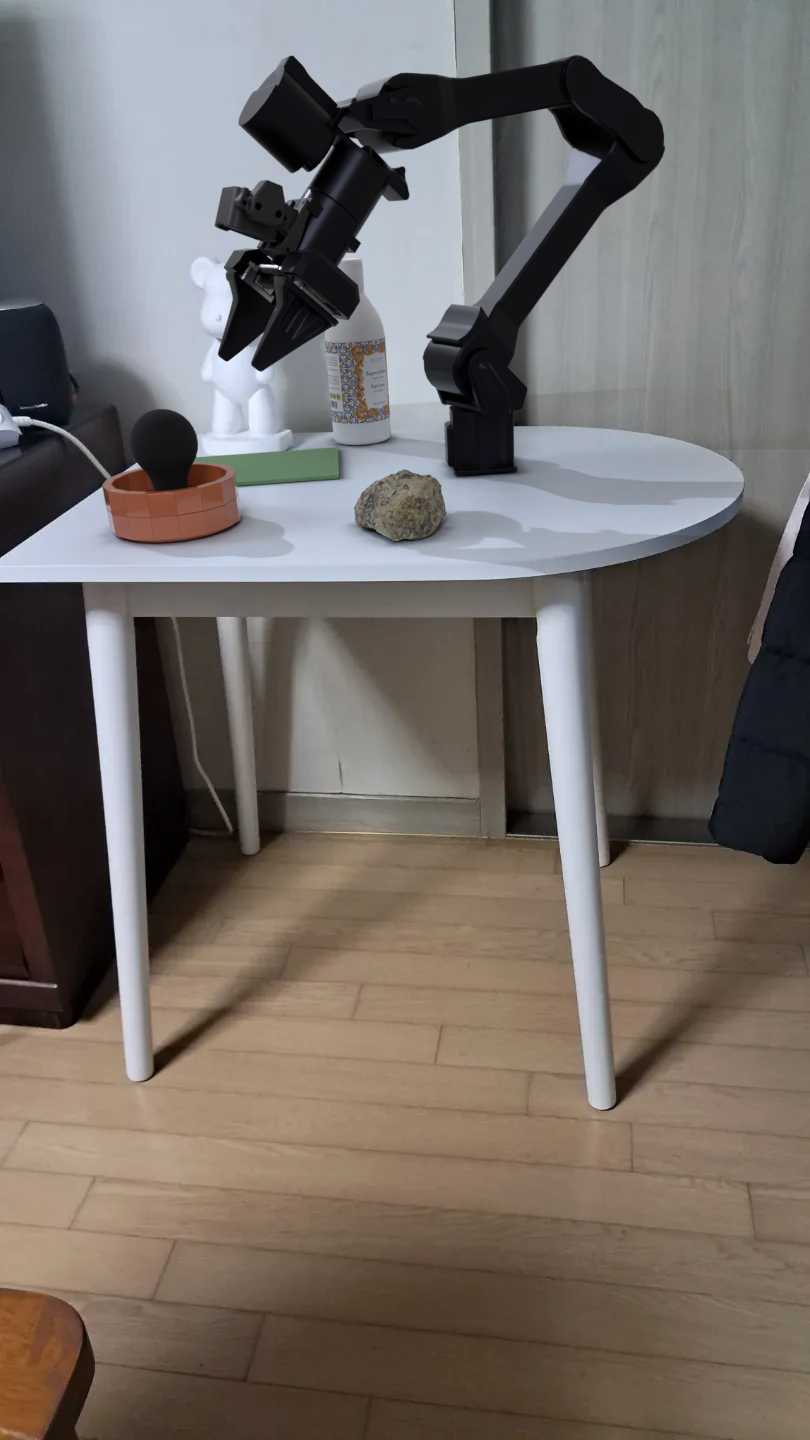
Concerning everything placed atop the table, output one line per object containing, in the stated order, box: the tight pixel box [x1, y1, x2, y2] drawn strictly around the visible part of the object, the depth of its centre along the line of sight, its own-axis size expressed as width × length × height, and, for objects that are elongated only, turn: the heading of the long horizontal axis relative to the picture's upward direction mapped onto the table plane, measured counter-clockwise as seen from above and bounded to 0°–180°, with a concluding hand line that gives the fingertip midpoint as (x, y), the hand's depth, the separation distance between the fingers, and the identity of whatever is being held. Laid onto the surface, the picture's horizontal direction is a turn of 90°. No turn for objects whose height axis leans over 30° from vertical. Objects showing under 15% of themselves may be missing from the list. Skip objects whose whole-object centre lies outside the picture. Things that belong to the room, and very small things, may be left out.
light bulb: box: [129, 408, 199, 491], centre depth 92 cm, size 6×6×10 cm
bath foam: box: [324, 257, 392, 446], centre depth 120 cm, size 7×7×20 cm
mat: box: [194, 446, 340, 487], centre depth 113 cm, size 20×14×1 cm
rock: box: [353, 469, 447, 542], centre depth 88 cm, size 7×8×4 cm
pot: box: [101, 462, 242, 544], centre depth 93 cm, size 12×12×4 cm
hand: (238, 363), depth 92 cm, fingers open, 9 cm apart
